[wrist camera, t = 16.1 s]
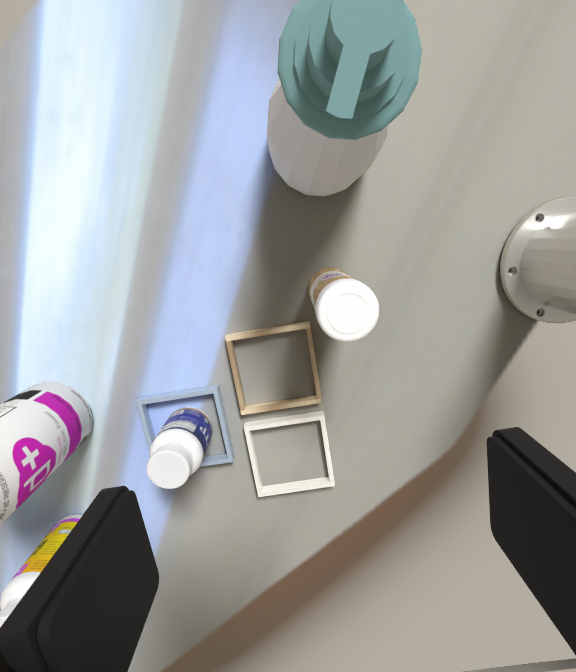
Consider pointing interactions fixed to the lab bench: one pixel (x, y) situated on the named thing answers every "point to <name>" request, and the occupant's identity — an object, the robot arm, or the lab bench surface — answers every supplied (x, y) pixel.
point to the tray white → (292, 485)
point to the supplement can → (38, 438)
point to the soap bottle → (339, 89)
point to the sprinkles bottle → (343, 305)
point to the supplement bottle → (35, 565)
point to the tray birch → (282, 403)
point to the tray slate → (185, 394)
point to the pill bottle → (179, 447)
